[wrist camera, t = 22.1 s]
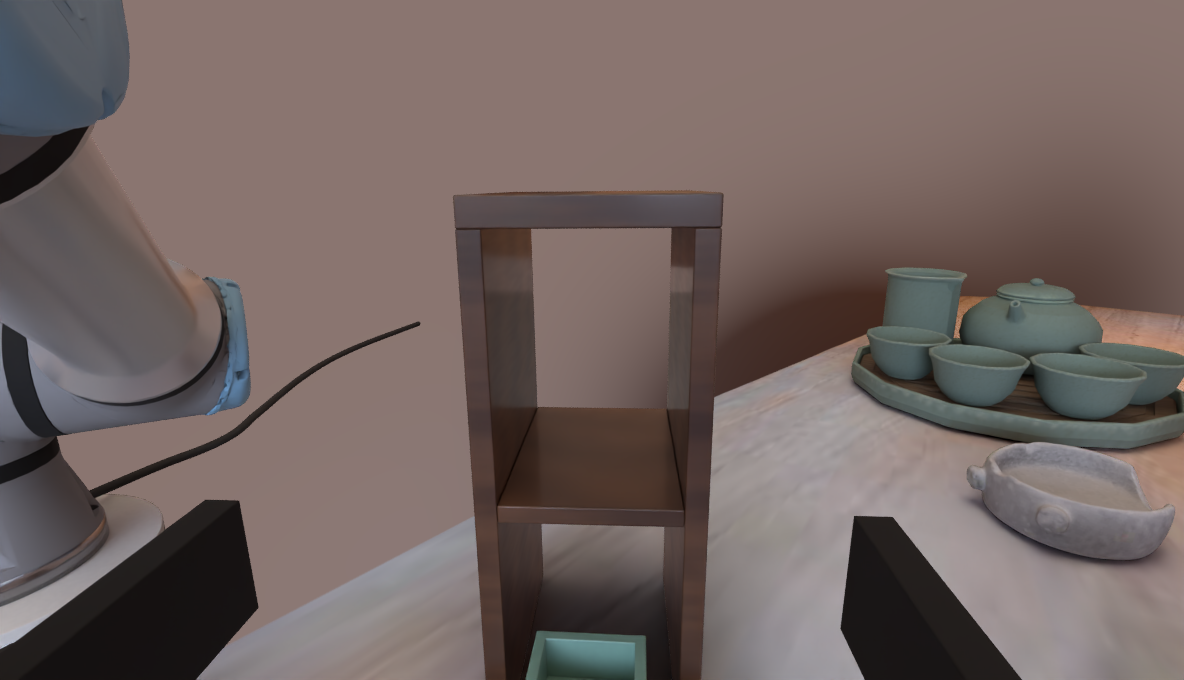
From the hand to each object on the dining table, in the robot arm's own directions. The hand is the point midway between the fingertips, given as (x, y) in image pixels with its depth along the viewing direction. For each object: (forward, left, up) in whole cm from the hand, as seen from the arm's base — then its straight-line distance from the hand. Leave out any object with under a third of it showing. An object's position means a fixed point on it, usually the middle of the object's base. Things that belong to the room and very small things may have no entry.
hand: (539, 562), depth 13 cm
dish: (-40, +42, -23) cm, 62 cm away
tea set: (-74, +57, -23) cm, 96 cm away
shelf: (-23, 0, -23) cm, 32 cm away
